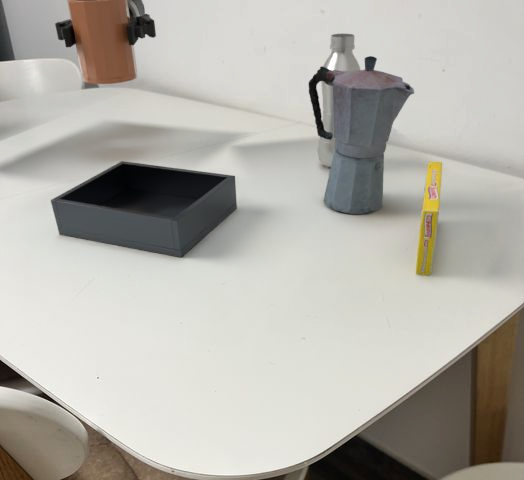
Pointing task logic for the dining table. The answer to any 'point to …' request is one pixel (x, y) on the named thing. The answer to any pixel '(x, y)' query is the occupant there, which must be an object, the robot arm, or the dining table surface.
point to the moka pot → (359, 133)
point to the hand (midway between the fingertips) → (98, 36)
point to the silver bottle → (339, 61)
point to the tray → (146, 207)
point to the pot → (103, 40)
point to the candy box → (429, 219)
